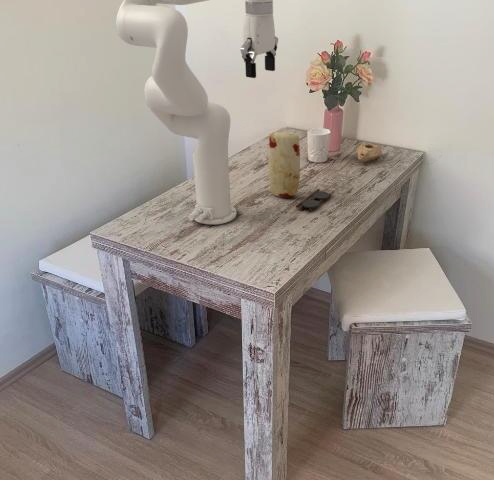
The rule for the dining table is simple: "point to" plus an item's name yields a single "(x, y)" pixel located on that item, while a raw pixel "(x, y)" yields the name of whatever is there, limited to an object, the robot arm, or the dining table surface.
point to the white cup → (318, 144)
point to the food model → (284, 164)
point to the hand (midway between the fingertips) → (260, 73)
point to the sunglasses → (313, 200)
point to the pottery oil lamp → (368, 152)
